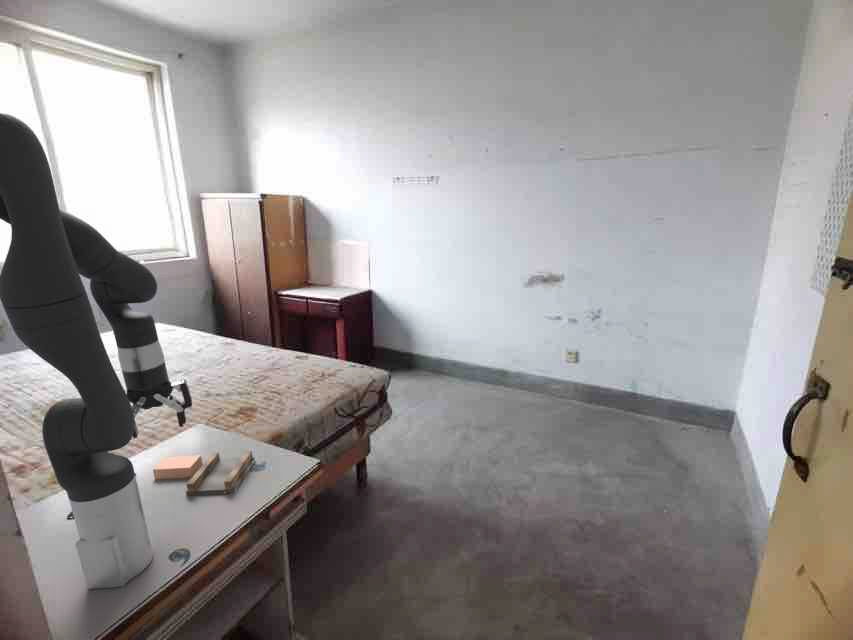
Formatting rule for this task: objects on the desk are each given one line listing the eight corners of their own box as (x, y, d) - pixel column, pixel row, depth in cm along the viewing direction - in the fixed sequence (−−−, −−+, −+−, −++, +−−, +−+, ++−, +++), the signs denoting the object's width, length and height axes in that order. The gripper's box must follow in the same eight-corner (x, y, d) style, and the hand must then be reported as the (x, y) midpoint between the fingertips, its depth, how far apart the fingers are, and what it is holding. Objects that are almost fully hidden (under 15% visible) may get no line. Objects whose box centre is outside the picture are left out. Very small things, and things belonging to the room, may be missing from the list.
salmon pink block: (202, 465, 107) (200, 455, 106) (192, 478, 101) (190, 467, 101) (167, 467, 106) (165, 457, 106) (155, 480, 101) (152, 469, 100)
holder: (234, 492, 95) (232, 481, 94) (186, 495, 94) (184, 484, 94) (255, 460, 107) (253, 450, 107) (212, 463, 107) (210, 452, 106)
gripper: (97, 377, 78) (117, 449, 83) (182, 362, 85) (196, 429, 90) (103, 363, 85) (122, 431, 89) (182, 350, 91) (195, 414, 96)
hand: (159, 430), depth 90 cm, fingers open, 8 cm apart
